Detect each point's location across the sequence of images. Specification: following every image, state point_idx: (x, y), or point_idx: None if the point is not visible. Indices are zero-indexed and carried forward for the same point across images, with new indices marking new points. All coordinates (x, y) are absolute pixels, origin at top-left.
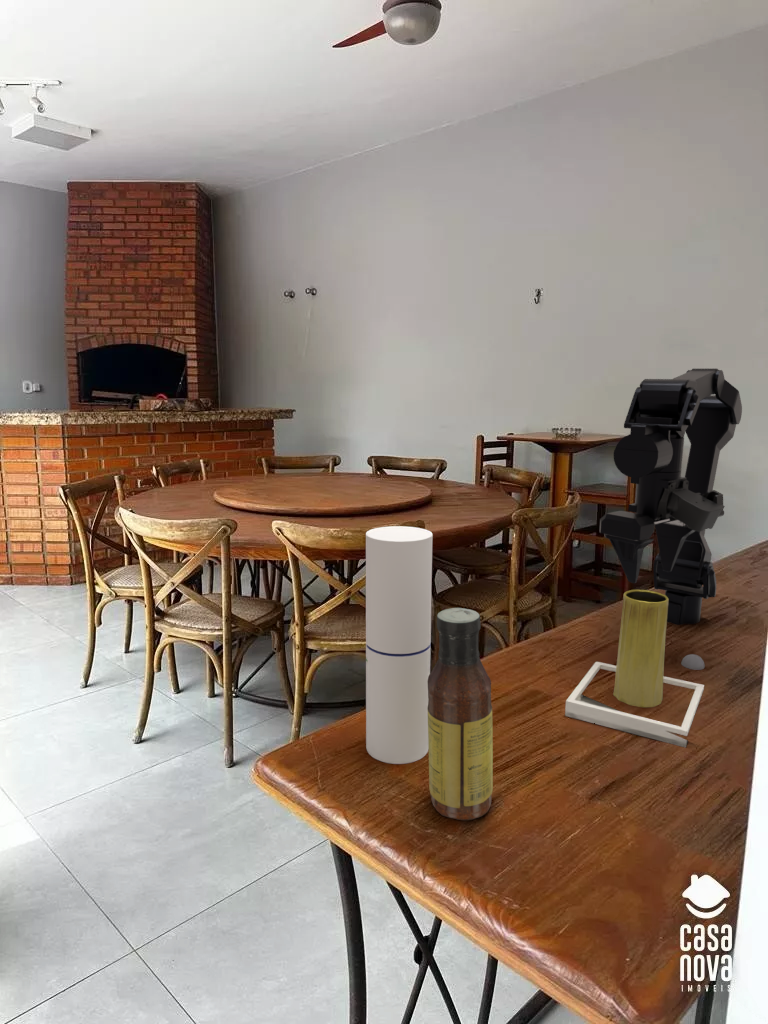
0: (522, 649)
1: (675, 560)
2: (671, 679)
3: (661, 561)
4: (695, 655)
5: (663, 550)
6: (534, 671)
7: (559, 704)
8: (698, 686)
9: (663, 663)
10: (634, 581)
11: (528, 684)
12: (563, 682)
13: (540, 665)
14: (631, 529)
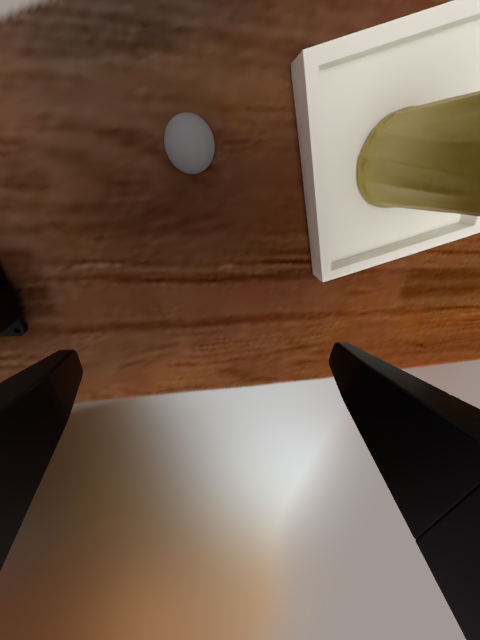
0: (296, 373)
1: (9, 381)
2: (318, 136)
3: (69, 413)
4: (187, 137)
5: (28, 473)
6: (350, 328)
7: (428, 252)
8: (319, 59)
9: (475, 94)
10: (351, 345)
11: (389, 310)
12: (362, 287)
13: (328, 334)
14: None
